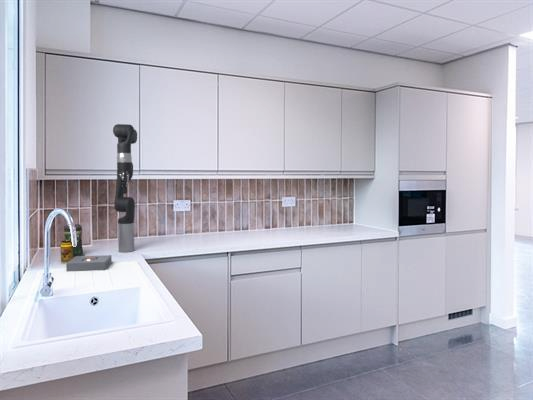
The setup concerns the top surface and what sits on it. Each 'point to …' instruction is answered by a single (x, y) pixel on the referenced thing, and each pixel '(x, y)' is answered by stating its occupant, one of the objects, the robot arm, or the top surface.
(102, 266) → the box
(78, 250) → the green bottle
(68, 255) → the condiment
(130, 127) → the robot arm
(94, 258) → the button
